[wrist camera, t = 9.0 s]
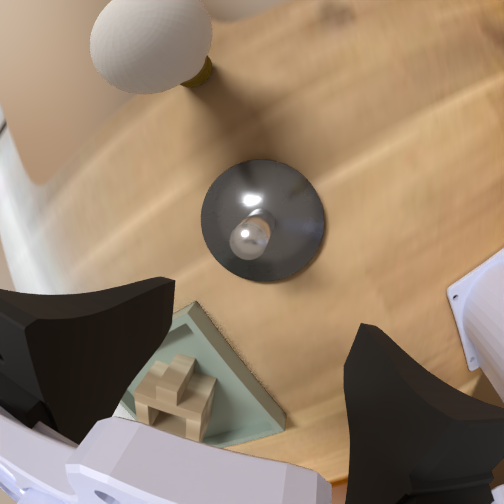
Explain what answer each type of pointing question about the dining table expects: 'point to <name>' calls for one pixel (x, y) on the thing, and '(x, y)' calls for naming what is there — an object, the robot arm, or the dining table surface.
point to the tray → (217, 381)
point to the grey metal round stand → (262, 220)
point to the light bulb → (152, 44)
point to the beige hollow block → (176, 398)
